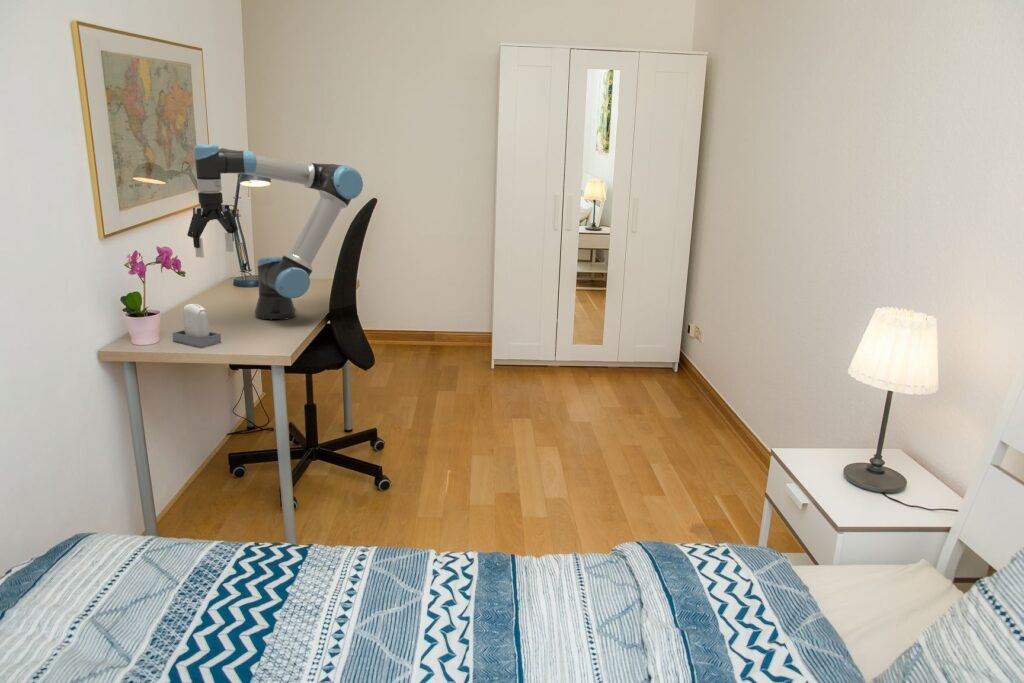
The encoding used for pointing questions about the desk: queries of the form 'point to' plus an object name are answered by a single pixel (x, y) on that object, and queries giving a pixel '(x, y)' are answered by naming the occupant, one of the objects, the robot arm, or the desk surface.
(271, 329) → the desk surface
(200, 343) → the grey rectangular tray
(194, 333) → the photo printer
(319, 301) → the desk surface
